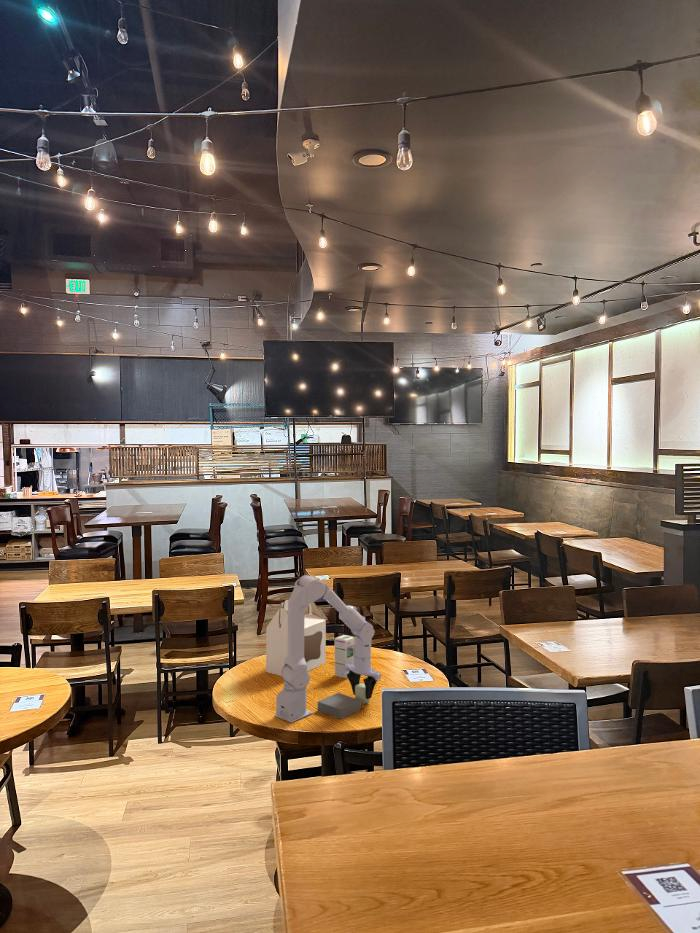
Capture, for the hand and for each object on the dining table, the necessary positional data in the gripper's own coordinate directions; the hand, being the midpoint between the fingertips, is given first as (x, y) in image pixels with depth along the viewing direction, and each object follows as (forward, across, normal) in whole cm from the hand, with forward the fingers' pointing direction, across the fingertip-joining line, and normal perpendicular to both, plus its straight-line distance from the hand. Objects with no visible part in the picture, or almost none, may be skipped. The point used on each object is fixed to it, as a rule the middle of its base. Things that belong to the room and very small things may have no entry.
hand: (362, 696), depth 209 cm
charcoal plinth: (+2, +1, +11) cm, 11 cm away
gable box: (+2, +41, -9) cm, 42 cm away
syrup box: (+2, +21, -15) cm, 26 cm away
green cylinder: (+2, 0, 0) cm, 2 cm away
